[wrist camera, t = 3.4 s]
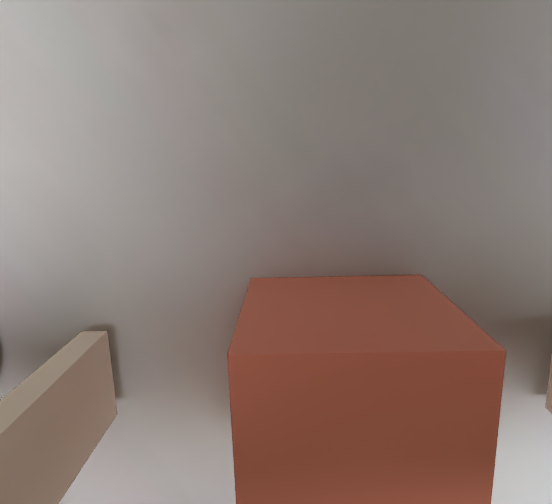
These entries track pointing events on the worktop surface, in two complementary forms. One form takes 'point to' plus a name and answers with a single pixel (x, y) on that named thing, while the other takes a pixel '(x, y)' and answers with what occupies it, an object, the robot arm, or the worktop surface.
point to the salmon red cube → (361, 394)
